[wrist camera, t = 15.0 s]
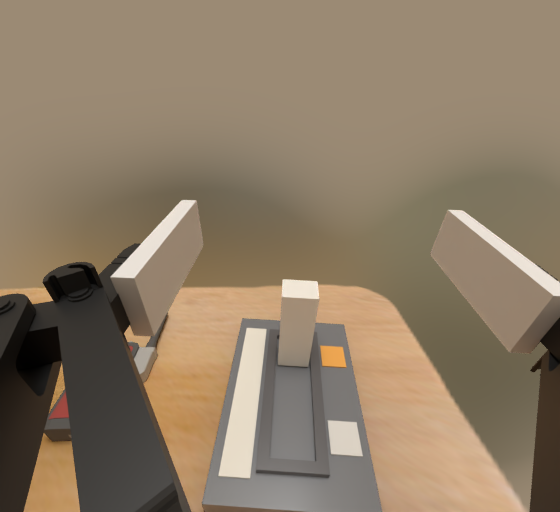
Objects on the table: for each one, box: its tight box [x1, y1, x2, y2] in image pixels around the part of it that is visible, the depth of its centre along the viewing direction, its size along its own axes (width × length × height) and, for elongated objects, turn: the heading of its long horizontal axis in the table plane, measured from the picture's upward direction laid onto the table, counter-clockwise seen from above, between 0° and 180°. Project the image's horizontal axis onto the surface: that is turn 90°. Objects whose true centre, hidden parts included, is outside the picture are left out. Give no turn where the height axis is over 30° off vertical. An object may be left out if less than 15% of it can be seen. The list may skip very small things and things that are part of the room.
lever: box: [278, 279, 319, 367], centre depth 33 cm, size 4×3×12 cm
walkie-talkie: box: [44, 312, 168, 441], centre depth 36 cm, size 9×4×20 cm
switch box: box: [202, 318, 382, 512], centre depth 33 cm, size 16×22×4 cm
